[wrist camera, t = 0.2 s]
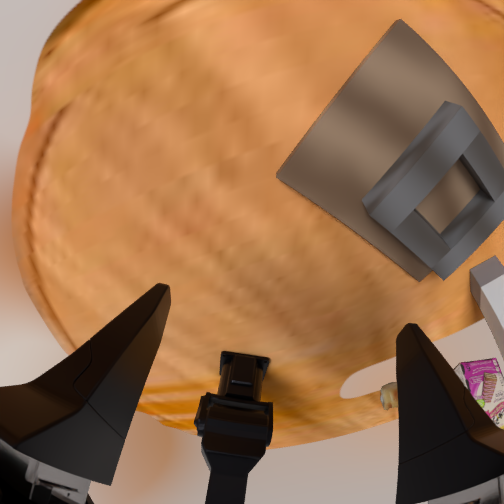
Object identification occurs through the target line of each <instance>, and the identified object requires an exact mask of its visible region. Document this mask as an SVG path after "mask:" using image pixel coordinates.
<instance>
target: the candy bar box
mask: <svg viewBox="0 0 504 504" xmlns="http://www.w3.org/2000/svg"><path fill="white" fill-rule="evenodd" d="M453 370H454V371H455V373H456V374H457V375H458V377H459V378H460V379H461V381H462V382H463V383H464V386H466V387H467V389H468V390H469V392H470V393H471V394H472V396H473V397H474V398H475V400H476V401H477V402H478V403H479V405H480V406H481V407H482V408H483V410H484V411H485V412H486V413H487V414H488V416H489V417H490V418H491V419H492V421H493V422H494V423H495V424H496V425H497V426H498V427H499V428H501V429H503V430H504V378H503V375H502V372H501V370H500V367H499V364H498V362H497V359H496V358H492V359H485V360H478V361H470V362H461V363H459V364H458V365H457V366H456V367H455V368H454V369H453Z"/></svg>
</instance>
